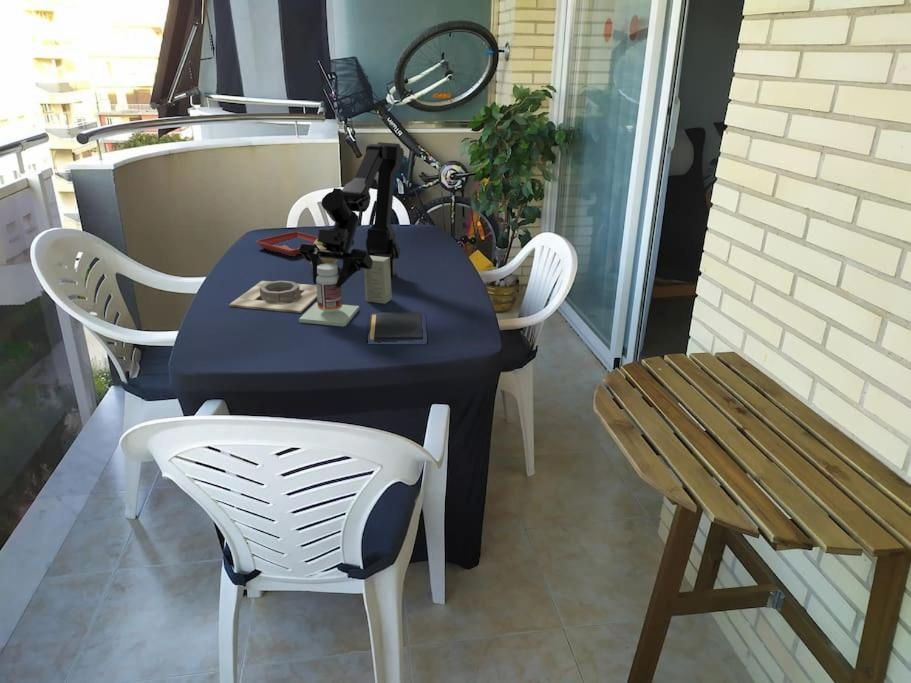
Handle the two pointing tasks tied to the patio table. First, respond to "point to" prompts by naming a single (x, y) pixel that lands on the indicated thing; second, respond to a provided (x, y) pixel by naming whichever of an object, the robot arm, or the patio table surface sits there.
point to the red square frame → (284, 249)
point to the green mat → (329, 315)
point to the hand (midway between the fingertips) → (326, 285)
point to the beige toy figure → (324, 260)
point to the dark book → (395, 326)
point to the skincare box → (378, 280)
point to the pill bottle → (328, 288)
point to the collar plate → (278, 296)
